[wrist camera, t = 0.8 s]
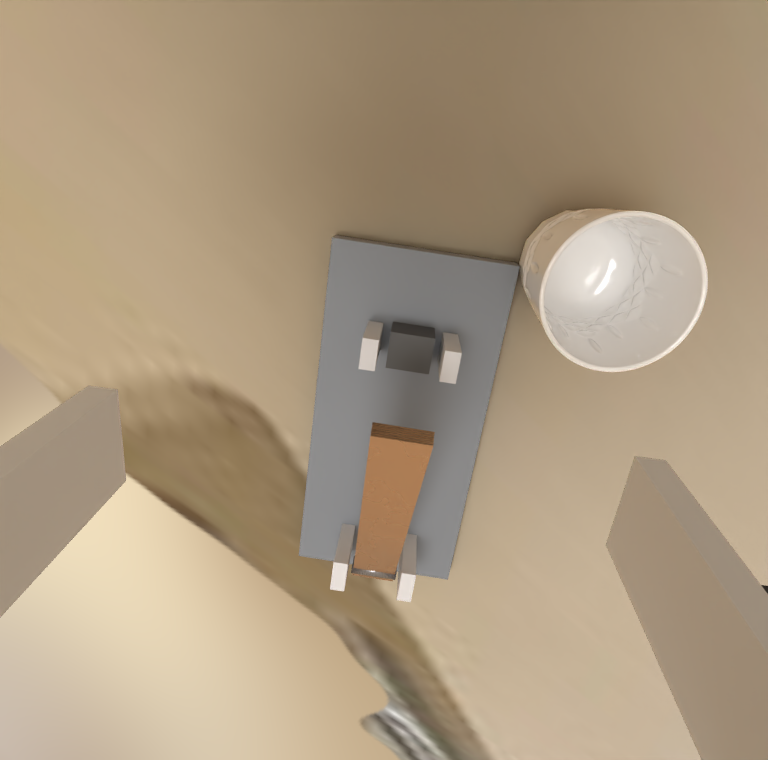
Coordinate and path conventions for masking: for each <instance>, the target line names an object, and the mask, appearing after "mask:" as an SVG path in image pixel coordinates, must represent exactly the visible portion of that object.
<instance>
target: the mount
mask: <svg viewBox="0 0 768 760" xmlns="http://www.w3.org/2000/svg"><path fill="white" fill-rule="evenodd" d="M519 268H520V266H519V265H518V264H517V263H515V262H508V261H502V260H495V259H489V258H482V257H476V256H469V255H463V254H456V253H450V252H443V251H437V250H430V249H424V248H417V247H411V246H404V245H398V244H391V243H385V242H378V241H372V240H365V239H359V238H352V237H346V236H339V235H335V236H334V237H332V244H331V254H330V263H329V273H328V282H327V292H326V301H325V311H324V321H323V330H322V340H321V349H320V359H319V368H318V378H317V388H316V397H315V407H314V416H313V426H312V435H311V445H310V454H309V464H308V474H307V483H306V493H305V502H304V512H303V521H302V531H301V541H300V550H299V556H304V557H310V558H317V559H323V560H329V561H334V564H333V571H332V579H331V586H330V589H332V590H339V591H344V589H345V583H346V578H347V573H348V567H349V564H353V559H354V556H355V552H356V544H357V536H358V528H359V520H360V513H361V505H362V497H363V489H364V481H365V474H366V466H367V458H368V450H369V442H370V435H371V429H372V423H373V422H375V423H381V424H388V425H394V426H401V427H407V428H413V429H420V430H426V431H432V432H435V433H434V445H433V449H432V452H431V456H430V459H429V462H428V466H427V469H426V472H425V475H424V479H423V482H422V485H421V489H420V492H419V495H418V499H417V502H416V505H415V509H414V512H413V515H412V519H411V522H410V525H409V529H408V532H407V535H406V539H405V542H404V545H403V548H402V552H401V555H400V558H399V562H398V565H397V571H398V587H397V600H401V601H407V602H411V598H412V593H413V588H414V583H415V578H416V575H423V576H429V577H435V578H441V579H448V576H449V572H450V567H451V563H452V559H453V554H454V550H455V546H456V541H457V537H458V533H459V528H460V524H461V520H462V515H463V511H464V507H465V502H466V498H467V494H468V489H469V485H470V481H471V476H472V472H473V468H474V463H475V459H476V455H477V450H478V446H479V442H480V437H481V433H482V429H483V424H484V420H485V416H486V411H487V407H488V403H489V398H490V394H491V390H492V385H493V381H494V377H495V372H496V368H497V364H498V359H499V355H500V351H501V346H502V342H503V338H504V333H505V329H506V325H507V320H508V316H509V312H510V307H511V303H512V299H513V294H514V290H515V286H516V281H517V277H518V273H519Z"/></svg>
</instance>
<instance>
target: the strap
mask: <svg viewBox="0 0 768 760" xmlns="http://www.w3.org/2000/svg"><path fill="white" fill-rule="evenodd" d="M434 433H435V432H432V431H426V430H420V429H413V428H407V427H401V426H394V425H388V424H381V423H375V422H373V423H372V429H371V435H370V442H369V450H368V458H367V466H366V474H365V481H364V489H363V497H362V505H361V513H360V520H359V528H358V536H357V544H356V552H355V556H354V559H353V565H352V571H351V573H353V575H357V576H363V577H369V578H375V579H382V580H388V581H393V580H395V578H396V572H397V565H398V562H399V558H400V555H401V552H402V548H403V545H404V542H405V539H406V535H407V532H408V529H409V525H410V522H411V519H412V515H413V512H414V509H415V505H416V502H417V499H418V495H419V492H420V489H421V485H422V482H423V479H424V475H425V472H426V469H427V466H428V462H429V459H430V456H431V452H432V449H433V445H434Z"/></svg>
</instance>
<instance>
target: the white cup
mask: <svg viewBox="0 0 768 760" xmlns="http://www.w3.org/2000/svg"><path fill="white" fill-rule="evenodd" d="M519 266H520V275H521V281H522V286H523V288H524V290H525V292H526V295H527V298H528V300H529V302H530V304H531V307H532V309H533V311H534V313H535V315H536V317H537V318H538V320H539V322H540V323H541V325H542V327H543V328H544V330H545V332H546V334H547V336H548V338H549V339H550V341H551V342H552V344H553V345H554V346H555V347H556V348H557V350H558V351H559V352H560V353H561V354H563V355H564V356H565V357H566V358H568V359H569V360H571V361H572V362H574V363H576V364H578V365H580V366H583V367H585V368H588V369H592V370H597V371H603V372H621V371H628V370H633V369H637V368H640V367H643V366H646V365H648V364H651V363H653V362H655V361H657V360H659V359H660V358H662V357H664V356H665V355H667V354H668V353H669V352H671V351H672V350H673V349H674V348H676V347H677V346H678V345H679V344H680V343H681V342H682V341H683V340H684V339H685V338H686V336H687V335H688V334H689V333H690V331H691V330H692V328H693V327H694V325H695V324H696V322H697V320H698V318H699V316H700V314H701V312H702V309H703V306H704V303H705V300H706V295H707V288H708V273H707V267H706V262H705V259H704V256H703V253H702V251H701V249H700V247H699V245H698V244H697V242H696V241H695V239H694V238H693V237H692V235H691V234H690V233H689V232H688V231H687V230H686V229H685V228H683V227H682V226H681V225H679V224H678V223H676V222H675V221H673V220H671V219H669V218H667V217H665V216H662V215H659V214H656V213H652V212H645V211H632V210H617V209H601V208H597V209H582V210H566V211H563V212H561V213H559V214H557V215H555V216H553V217H551V218H548V219H546V220H544V221H542V223H541V224H540V225H539V226H538V227H537V228H536V229H535V230H534V232H533V233H532V234H531V235H530V236H529V237H528V238H527V240H526V242H525V245H524V248H523V251H522V255H521V258H520V261H519Z"/></svg>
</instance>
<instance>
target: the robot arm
mask: <svg viewBox="0 0 768 760" xmlns="http://www.w3.org/2000/svg"><path fill="white" fill-rule="evenodd" d="M125 481H126V474H125V464H124V453H123V442H122V431H121V420H120V410H119V399H118V389H111V388H103V387H95V386H87V387H86V388H84V389H83V390H81V391H80V392H78V393H77V394H75V395H74V396H73V397H71V398H70V399H68V400H67V401H65V402H64V403H62V404H61V405H59V406H58V407H57V408H55V409H54V410H53V411H51V412H49V413H48V414H46V415H45V416H44V417H42V418H41V419H39V420H38V421H36V422H35V423H33V424H32V425H31V426H29V427H28V428H26V429H25V430H23V431H22V432H20V433H19V434H18V435H16V436H15V437H13V438H12V439H10V440H9V441H7V442H6V443H4V444H3V445H1V446H0V617H1V616H2V615H3V614H4V613H5V612H6V611H7V610H8V608H9V607H10V606H11V605H12V604H13V603H14V602H15V601H16V600H17V599H18V598H19V597H20V595H21V594H22V593H23V592H24V591H25V590H26V589H27V588H28V587H29V586H30V585H31V584H32V582H33V581H34V580H35V579H36V578H37V577H38V576H39V575H40V574H41V572H42V571H43V570H44V569H45V568H46V567H47V566H48V565H49V564H50V563H51V561H53V560H54V558H55V557H56V556H57V555H58V554H59V553H60V552H61V551H62V550H63V549H64V547H65V546H66V545H67V544H68V543H69V542H70V541H71V540H72V539H73V538H74V537H75V536H76V535H77V533H78V532H79V531H80V530H81V529H82V528H83V527H84V526H85V525H86V524H87V523H88V521H89V520H90V519H91V518H92V517H93V516H94V515H95V514H96V513H97V512H98V511H99V510H100V508H101V507H102V506H103V505H104V504H105V503H106V502H107V501H108V500H109V499H110V498H111V496H112V495H113V494H114V493H115V492H116V491H117V490H118V489H119V487H121V486H122V484H123V483H124V482H125ZM606 547H607V549H608V551H609V553H610V556H611V558H612V560H613V562H614V565H615V567H616V569H617V571H618V573H619V576H620V578H621V580H622V582H623V585H624V587H625V589H626V591H627V594H628V596H629V598H630V600H631V603H632V605H633V607H634V609H635V612H636V614H637V616H638V618H639V621H640V623H641V625H642V627H643V630H644V632H645V634H646V636H647V639H648V641H649V643H650V645H651V647H652V650H653V652H654V654H655V656H656V659H657V661H658V663H659V665H660V668H661V670H662V672H663V674H664V677H665V679H666V681H667V683H668V686H669V688H670V690H671V692H672V695H673V697H674V699H675V701H676V704H677V706H678V708H679V710H680V712H681V715H682V717H683V719H684V721H685V724H686V726H687V728H688V730H689V733H690V735H691V737H692V739H693V742H694V744H695V746H696V748H697V751H698V753H699V755H700V757H701V760H768V586H764V585H761V584H760V583H759V582H758V580H757V579H756V578H755V577H754V575H753V574H752V573H751V571H750V570H749V569H748V567H747V566H746V565H745V563H744V562H743V561H742V559H741V558H740V557H739V556H738V554H737V553H736V552H735V550H734V549H733V548H732V546H731V545H730V544H729V542H728V541H727V540H726V538H725V537H724V536H723V535H722V533H721V532H720V531H719V529H718V528H717V527H716V525H715V524H714V523H713V521H712V520H711V519H710V517H709V516H708V515H707V514H706V512H705V511H704V510H703V508H702V507H701V506H700V504H699V503H698V502H697V500H696V499H695V498H694V496H693V495H692V494H691V493H690V491H689V490H688V489H687V487H686V486H685V485H684V483H683V482H682V481H681V479H680V478H679V477H678V475H677V474H676V473H675V472H674V470H673V469H672V468H671V466H670V465H669V464H668V462H667V461H666V460H660V459H652V458H645V457H637V456H635V457H634V460H633V463H632V466H631V469H630V473H629V476H628V479H627V482H626V485H625V488H624V491H623V494H622V497H621V500H620V503H619V506H618V509H617V512H616V515H615V518H614V521H613V524H612V527H611V531H610V534H609V537H608V540H607V543H606Z"/></svg>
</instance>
